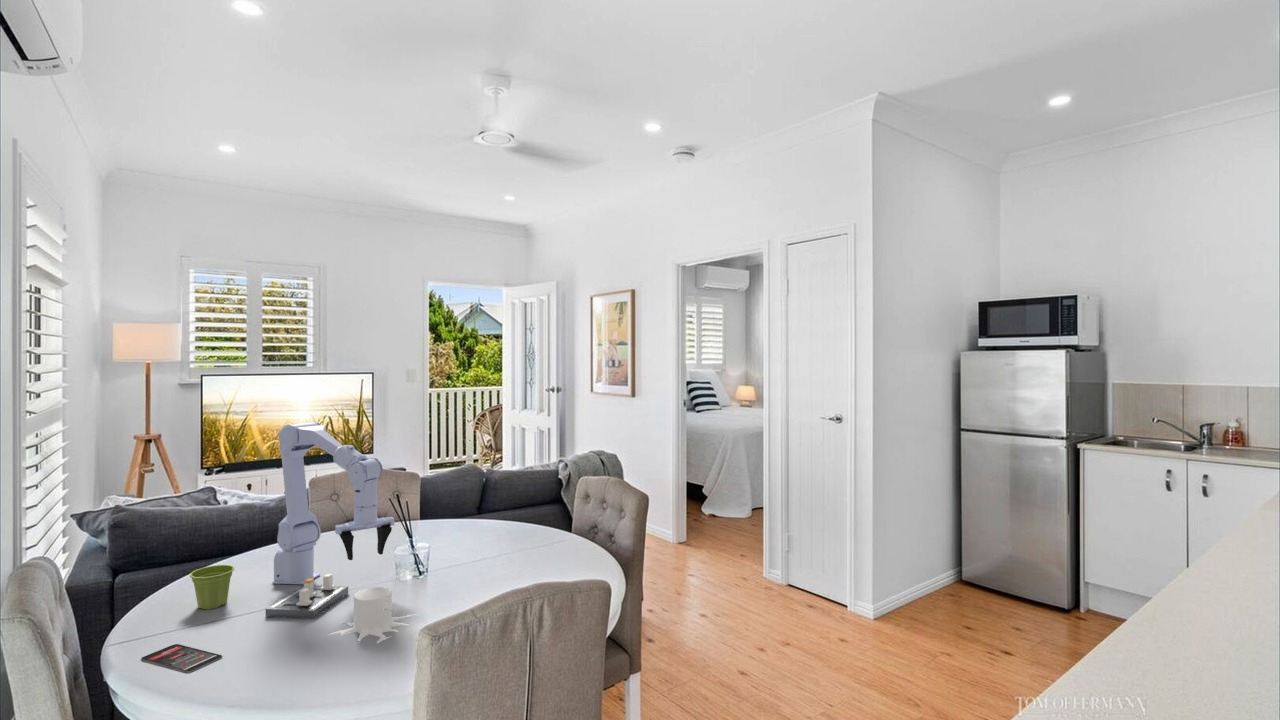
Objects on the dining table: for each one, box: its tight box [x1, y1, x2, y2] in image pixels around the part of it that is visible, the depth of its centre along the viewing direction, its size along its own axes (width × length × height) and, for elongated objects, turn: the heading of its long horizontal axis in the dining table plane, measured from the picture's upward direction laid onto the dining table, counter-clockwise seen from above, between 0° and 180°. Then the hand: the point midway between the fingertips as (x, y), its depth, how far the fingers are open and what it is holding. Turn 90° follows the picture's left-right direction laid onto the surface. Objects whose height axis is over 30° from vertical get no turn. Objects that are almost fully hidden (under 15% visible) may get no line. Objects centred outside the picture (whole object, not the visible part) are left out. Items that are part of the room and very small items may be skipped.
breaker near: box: [296, 589, 313, 606], centre depth 156 cm, size 3×2×3 cm
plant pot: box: [189, 564, 235, 610], centre depth 161 cm, size 9×9×9 cm
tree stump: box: [327, 586, 417, 644], centre depth 150 cm, size 20×19×8 cm
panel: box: [265, 584, 349, 619], centre depth 161 cm, size 12×16×2 cm
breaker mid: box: [303, 578, 317, 597], centre depth 161 cm, size 3×2×4 cm
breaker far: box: [320, 573, 336, 590], centre depth 166 cm, size 3×2×3 cm
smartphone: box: [140, 643, 223, 674], centre depth 133 cm, size 7×1×15 cm
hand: (365, 556), depth 169 cm, fingers open, 7 cm apart
